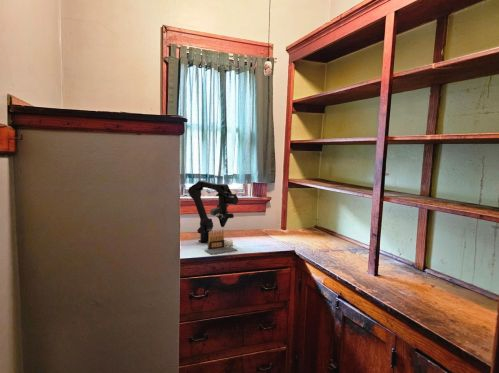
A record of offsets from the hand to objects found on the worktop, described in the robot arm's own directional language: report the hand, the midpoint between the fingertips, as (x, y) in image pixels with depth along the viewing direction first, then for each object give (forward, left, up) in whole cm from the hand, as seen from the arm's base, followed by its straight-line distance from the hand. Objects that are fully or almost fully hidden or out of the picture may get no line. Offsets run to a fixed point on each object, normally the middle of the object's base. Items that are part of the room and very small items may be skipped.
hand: (222, 227), depth 206 cm
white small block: (+2, +4, -12) cm, 13 cm away
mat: (+11, -7, -12) cm, 18 cm away
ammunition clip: (+5, -7, -12) cm, 15 cm away
